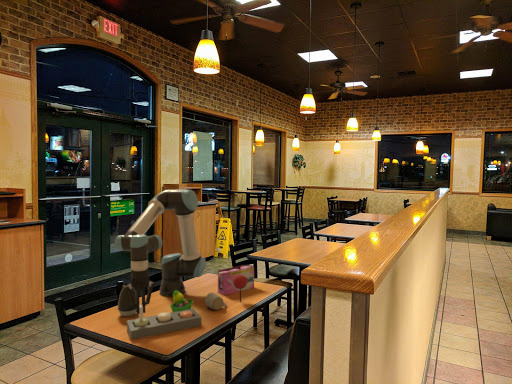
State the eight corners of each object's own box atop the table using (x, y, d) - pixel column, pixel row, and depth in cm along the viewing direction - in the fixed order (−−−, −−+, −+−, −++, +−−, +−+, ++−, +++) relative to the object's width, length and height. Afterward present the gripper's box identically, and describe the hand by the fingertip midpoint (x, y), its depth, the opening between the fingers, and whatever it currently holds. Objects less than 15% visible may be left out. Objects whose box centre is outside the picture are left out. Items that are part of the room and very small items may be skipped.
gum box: (222, 296, 216) (222, 273, 216) (215, 292, 222) (215, 270, 222) (254, 287, 231) (254, 266, 230) (247, 284, 237) (246, 264, 237)
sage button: (133, 324, 169) (133, 319, 169) (147, 322, 172) (146, 317, 171) (135, 329, 164) (135, 324, 163) (149, 327, 166) (149, 321, 166)
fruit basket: (182, 317, 184) (182, 295, 184) (167, 315, 187) (167, 293, 187) (194, 309, 195) (193, 288, 194) (179, 307, 198) (179, 287, 198)
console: (127, 329, 171) (126, 320, 171) (193, 316, 185) (193, 308, 185) (131, 340, 159) (130, 331, 159) (201, 325, 174) (201, 317, 174)
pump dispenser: (133, 309, 196) (132, 281, 195) (142, 314, 189) (141, 285, 188) (114, 314, 189) (113, 285, 188) (123, 320, 182) (122, 290, 181)
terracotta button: (178, 317, 178) (178, 312, 178) (190, 315, 181) (190, 310, 181) (181, 321, 173) (181, 316, 173) (194, 319, 176) (194, 314, 176)
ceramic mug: (213, 312, 190) (213, 297, 190) (204, 308, 197) (204, 293, 196) (229, 307, 197) (229, 293, 197) (220, 303, 204) (220, 290, 203)
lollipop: (245, 304, 202) (244, 277, 201) (231, 303, 204) (231, 276, 203) (249, 299, 209) (248, 273, 208) (236, 298, 211) (235, 272, 210)
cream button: (156, 319, 174) (156, 313, 173) (169, 316, 176) (169, 311, 176) (159, 323, 168) (159, 318, 168) (172, 321, 171) (172, 315, 171)
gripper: (125, 272, 160) (127, 325, 161) (156, 269, 166) (157, 320, 167) (123, 269, 167) (125, 320, 168) (152, 265, 173) (153, 315, 173)
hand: (141, 320), depth 167 cm, fingers closed
